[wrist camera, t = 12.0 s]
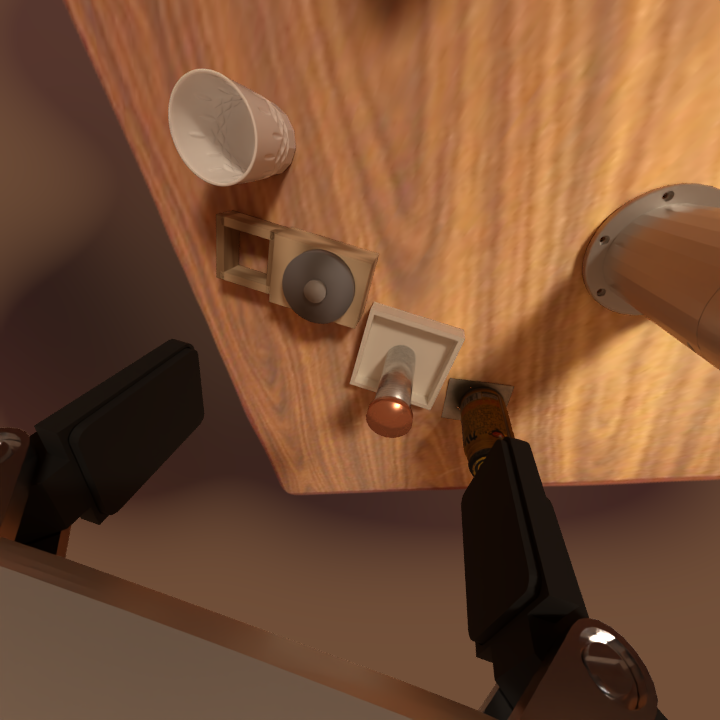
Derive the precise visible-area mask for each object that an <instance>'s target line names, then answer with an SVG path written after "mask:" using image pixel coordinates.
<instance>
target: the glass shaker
mask: <svg viewBox="0 0 720 720" xmlns="http://www.w3.org/2000/svg"><path fill="white" fill-rule="evenodd" d="M415 363H416V355H415V353H414V351H413V350H412V349H411V348H409V347H407V346H404V345H397V346H394V347H392V348H391V349H390V350H389V351H388V353H387V357H386V360H385V364H384V368H383V371H382V375H381V378H380V382H379V386H378V389H377V393H376V397H375V400H373V401H372V402H371V404H370V405H369V408H368V411H367V415H366V420H367V423H368V425H369V427H370V428H371V429H372V430H373V431H374V432H375V433H377V434H379V435H381V436H384V437H390V438H395V437H400V436H403V435H405V434H406V433H407V432H408V431H409V430H410V429H411V426H412V420H413V412H412V410H411V408H410V404H411V396H412V388H413V379H414V371H415Z"/></svg>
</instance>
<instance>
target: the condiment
mask: <svg viewBox="0 0 720 720" xmlns="http://www.w3.org/2000/svg"><path fill="white" fill-rule="evenodd" d="M470 387H471V388H470ZM513 388H514V387H513V386H507V385H500V384H493V383H486V382H474V381H468V380H460V379H452V378H450V380H449V385H448V389H447V394H446V398H445V403H444V408H443V413H442V417H443V418H449V419H455V420H461V424H462V434H463V445H464V452H465V455H466V457H467V459H468V462H469V463H468V466H469V469H470V472H471V473H472V475H473V476H475V474H476V473H477V471H478V470H479V468H480V466H481V465H482V463H483V461H484V460H485V458H486V456H487V455H488V453H489V451H490V450H491V448H492V446H493V445H494V443H495V442H496V440H498V439H500V440H503V438H504V437H506V436H508V437H512V438H514V433H513V431H512V427H511V423H510V419H509V415H508V411H507V405H508V402H509V399H510V397H511V394H512V391H513ZM457 407H459V408H460V410H459V408H457Z"/></svg>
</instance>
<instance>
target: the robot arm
mask: <svg viewBox="0 0 720 720" xmlns="http://www.w3.org/2000/svg"><path fill="white" fill-rule="evenodd" d="M664 194H666V195H665V197H664V198H662V197H663V195H664ZM602 237H604V238H603V240H602V241H600V239H601V238H602ZM583 279H584V284H585V286H586V288H587V290H588V292H589V293H590V295H591V296H592V297H593V298H594V299H595V300H596V301H597V302H598V303H600V304H601V305H602V306H604V307H605V308H607V309H609V310H611V311H614V312H617V313H620V314H626V315H644V316H646V317H647V318H648V319H650V320H651V321H653V322H654V323H655V324H657V325H658V326H659V327H661V328H662V329H664V330H665V331H666V332H668V333H669V334H670V335H672V336H673V337H675V338H676V339H677V340H679V341H680V342H681V343H683V344H684V345H686V346H687V347H688V348H690V349H691V350H692V351H694V352H695V353H697V354H698V355H699V356H701V357H702V358H703V359H705V360H706V361H708V362H709V363H710V364H712V365H713V366H714V367H716V368H717V369H719V370H720V189H717V188H715V187H713V186H708V185H702V184H690V183H682V184H674V185H667V186H663V187H660V188H656V189H653V190H650V191H648V192H646V193H644V194H641V195H639V196H637V197H635V198H634V199H632V200H630V201H629V202H627V203H626V204H624V205H622V206H621V207H620V208H619V209H618V210H616V211H615V212H614V213H613V214H612V215H610V216H609V217H608V218H607V220H606V221H605V222H604V223H603V224H602V225H601V226H600V227H599V229H598V230H597V232H596V233H595V235H594V236H593V238H592V239H591V241H590V243H589V245H588V248H587V250H586V253H585V257H584V261H583ZM599 289H600V291H598V290H599ZM597 291H598V292H597ZM199 369H200V368H199V360H198V353H197V351H196V350H194V347H193V346H192V345H191V344H189V343H185V342H182V341H178V340H175V339H171V340H168V341H167V342H165V343H164V344H162V345H161V346H159V347H158V348H156V349H154V350H153V351H151V352H149V353H148V354H146V355H145V356H143V357H142V358H140V359H139V360H137V361H136V362H134V363H132V364H131V365H129V366H128V367H126V368H124V369H123V370H121V371H120V372H118V373H116V374H115V375H113V376H112V377H110V378H109V379H107V380H106V381H104V382H102V383H101V384H99V385H98V386H96V387H94V388H93V389H91V390H90V391H88V392H87V393H85V394H83V395H82V396H80V397H79V398H77V399H76V400H74V401H73V402H71V403H69V404H68V405H66V406H65V407H63V408H61V409H60V410H58V411H57V412H55V413H54V414H52V415H50V416H49V417H48V418H46V419H44V420H43V421H41V422H39V423H38V424H36V425H35V426H34V427H35V429H36V431H37V432H35V433H34V434H32V435H31V436H29V435H28V434H27V432H25V431H23V430H21V429H18V428H10V427H7V428H0V720H668V719H667V718H666V717H665V716H664V715H663V714H662V713H661V712H660V710H659V709H658V708H657V703H658V698H657V694H656V690H655V686H654V682H653V680H652V678H651V676H650V674H649V672H648V669H647V667H646V666H645V664H644V663H643V661H642V660H641V658H640V657H639V655H638V654H637V652H636V651H635V650H634V648H633V647H632V646H631V645H630V644H629V643H628V642H627V641H626V640H625V638H624V637H623V636H621V635H620V634H619V633H617V632H616V631H615V630H614V629H613V628H612V627H610V626H608V625H607V624H604V623H603V622H601V621H599V620H596V619H591V618H589V616H588V613H587V610H586V607H585V604H584V601H583V598H582V595H581V592H580V589H579V586H578V583H577V580H576V576H575V573H574V570H573V567H572V564H571V561H570V558H569V555H568V552H567V549H566V546H565V542H564V539H563V536H562V533H561V530H560V527H559V524H558V521H557V518H556V515H555V512H554V509H553V506H552V504H551V502H550V500H549V499H548V498H547V497H546V495H545V492H544V489H543V486H542V482H541V479H540V476H539V473H538V470H537V466H536V463H535V460H534V457H533V454H532V451H531V447H530V445H529V443H528V442H525V441H522V440H519V439H515V438H512V437H508V436H506V437H504V438H503V440H500V439H498V440H496V442H495V443H494V445H493V446H492V448H491V450H490V451H489V453H488V455H487V456H486V458H485V460H484V461H483V463H482V465H481V466H480V468H479V470H478V471H477V473H476V474H475V476H474V478H473V479H472V481H471V483H470V484H469V486H468V488H467V489H466V491H465V493H464V495H463V498H462V503H461V510H462V527H463V544H464V545H463V546H464V563H465V581H466V598H467V617H468V632H469V636H470V639H471V640H472V641H475V643H476V657H478V658H481V659H484V660H486V661H489V662H492V663H493V667H494V677H495V681H496V684H495V686H494V687H493V689H492V690H491V692H490V693H489V695H488V696H487V698H486V699H485V701H484V702H483V704H482V705H481V707H480V708H479V710H475V709H473V708H470V707H468V706H465V705H462V704H460V703H457V702H455V701H452V700H450V699H447V698H444V697H442V696H440V695H437V694H434V693H432V692H429V691H427V690H424V689H422V688H419V687H417V686H414V685H411V684H409V683H406V682H404V681H401V680H399V679H396V678H393V677H390V676H388V675H385V674H382V673H380V672H377V671H374V670H371V669H369V668H366V667H363V666H361V665H358V664H355V663H352V662H350V661H347V660H344V659H342V658H339V657H336V656H333V655H331V654H328V653H325V652H322V651H320V650H317V649H315V648H312V647H309V646H306V645H304V644H301V643H298V642H296V641H293V640H290V639H287V638H285V637H282V636H279V635H276V634H274V633H271V632H268V631H265V630H263V629H260V628H257V627H254V626H251V625H249V624H246V623H243V622H240V621H238V620H235V619H232V618H230V617H227V616H224V615H221V614H218V613H216V612H213V611H210V610H207V609H205V608H202V607H199V606H197V605H194V604H191V603H188V602H186V601H183V600H180V599H177V598H175V597H172V596H169V595H166V594H164V593H161V592H158V591H155V590H152V589H149V588H147V587H144V586H141V585H138V584H136V583H133V582H130V581H127V580H124V579H121V578H119V577H116V576H113V575H110V574H108V573H104V572H102V571H99V570H96V569H94V568H91V567H88V566H85V565H82V564H79V563H77V562H74V561H71V560H68V559H66V558H65V557H66V552H67V547H68V541H69V536H70V530H71V525H72V524H73V523H74V522H75V521H76V520H77V519H78V518H79V517H81V519H84V520H87V521H90V522H93V523H95V524H98V525H100V524H101V523H102V522H103V521H104V520H105V519H106V518H107V517H108V516H109V515H113V514H115V513H116V512H118V511H119V510H120V509H121V508H122V507H123V506H124V505H125V504H126V503H127V501H128V500H129V499H130V498H131V497H132V496H133V495H134V494H135V493H136V492H137V491H138V490H139V489H140V488H141V486H142V485H143V484H144V483H145V482H146V481H147V480H148V479H149V478H150V477H151V476H152V475H153V474H154V473H155V471H157V470H158V468H159V467H160V466H161V465H162V464H163V463H164V462H165V461H166V460H167V459H168V458H169V457H170V456H171V455H172V453H173V452H174V451H175V450H176V449H177V448H178V447H179V446H180V445H181V444H182V443H183V442H184V441H185V440H186V438H188V436H189V435H190V434H191V433H192V432H193V431H194V430H195V429H196V428H197V427H198V426H199V425H200V423H201V422H202V420H203V418H204V407H203V398H202V387H201V378H200V370H199Z"/></svg>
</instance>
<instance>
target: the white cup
mask: <svg viewBox="0 0 720 720" xmlns="http://www.w3.org/2000/svg"><path fill="white" fill-rule="evenodd" d="M168 119H169V127H170V132H171V136H172V139H173V142H174V144H175V147H176V149H177V151H178V153H179V155H180V157H181V158H182V160H183V161H184V163H185V164H186V165H187V166H188V168H189V169H190V170H191V171H192V172H193V173H194V174H195V175H197V176H198V177H199V178H200V179H202V180H204V181H205V182H207V183H210V184H212V185H216V186H231V185H236V184H242V183H248V182H253V181H257V180H261V179H266V178H268V177H270V176H274V175H277V174H281V173H283V172H284V171H285V170H286V168H287V167H288V166H289V165H290V164H291V163H292V159H293V156H294V153H295V149H296V146H295V133H294V130H293V127H292V125H291V123H290V121H289V118H288V116H287V115H286V114H285V113H284V112H283V111H282V110H281V109H280V108H279V107H278V106H277V105H276V104H274V103H272V102H270V101H268V100H267V99H266V98H264V97H263V96H261V95H260V94H258V93H256V92H254V91H253V90H251V89H249V88H247V87H245V86H243V85H241V84H239V83H237V82H235V81H234V80H232V79H230V78H228V77H226V76H224V75H222V74H220V73H218V72H216V71H213V70H210V69H195V70H192V71H190V72H188V73H186V74H185V75H183V76H182V77H181V78H180V79H179V80H178V82H177V83H176V85H175V86H174V88H173V91H172V93H171V97H170V101H169V109H168Z"/></svg>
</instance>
